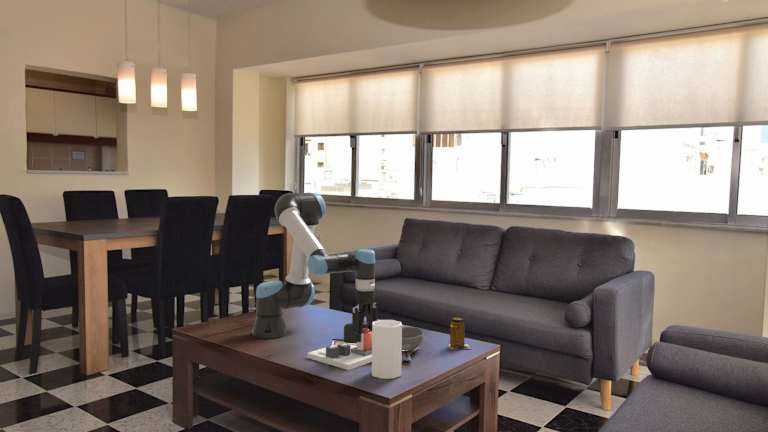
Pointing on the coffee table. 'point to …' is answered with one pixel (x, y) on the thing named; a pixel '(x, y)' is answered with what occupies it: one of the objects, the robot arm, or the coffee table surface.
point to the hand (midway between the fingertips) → (364, 348)
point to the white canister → (386, 349)
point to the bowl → (411, 338)
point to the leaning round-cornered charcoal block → (351, 333)
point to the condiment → (457, 334)
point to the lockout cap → (367, 339)
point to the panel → (343, 357)
